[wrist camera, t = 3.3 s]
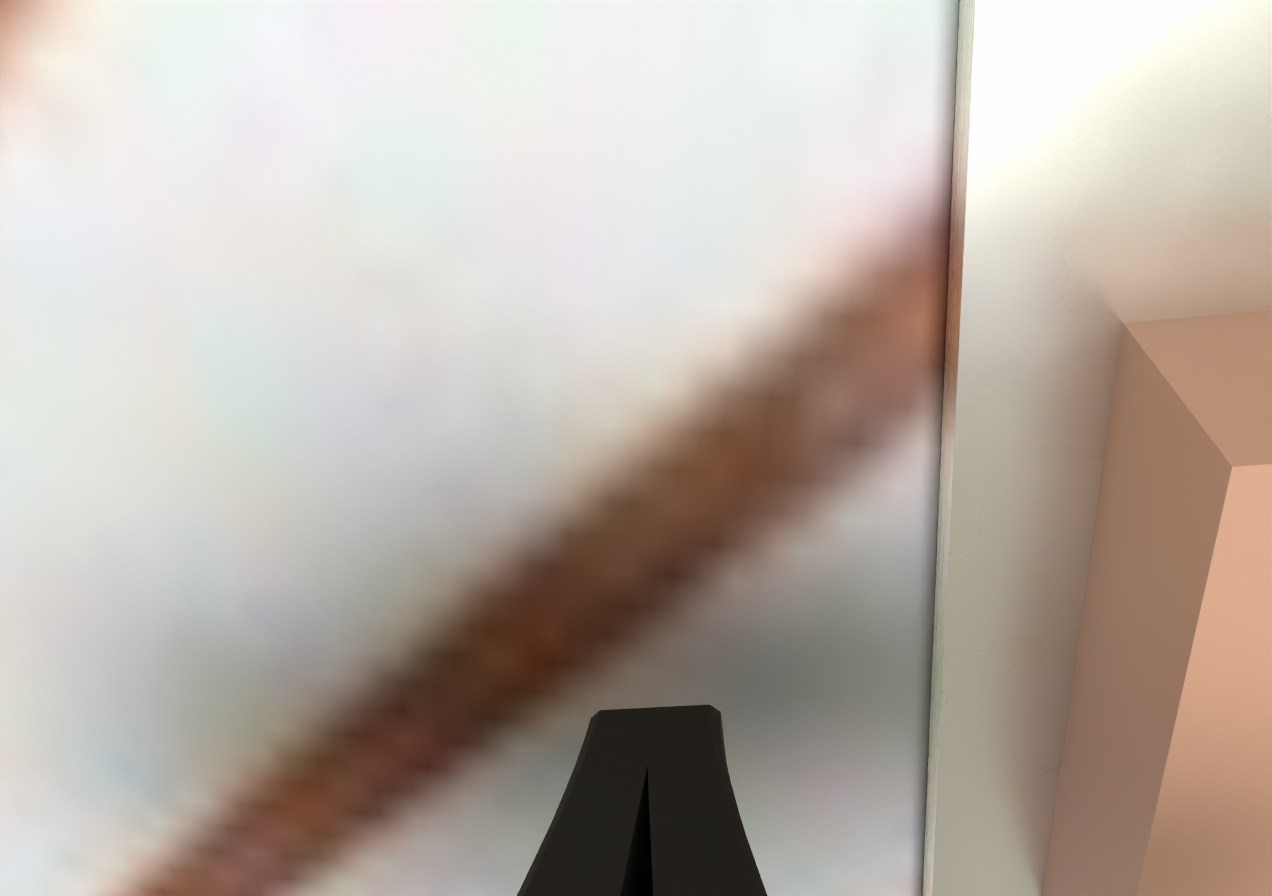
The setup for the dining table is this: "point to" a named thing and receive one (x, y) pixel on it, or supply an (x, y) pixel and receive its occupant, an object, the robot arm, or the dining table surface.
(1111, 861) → the peach rectangular panel
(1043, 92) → the dock
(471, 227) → the dining table surface
